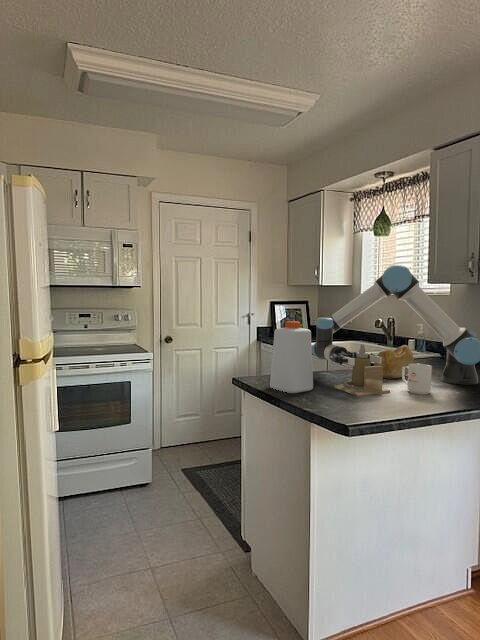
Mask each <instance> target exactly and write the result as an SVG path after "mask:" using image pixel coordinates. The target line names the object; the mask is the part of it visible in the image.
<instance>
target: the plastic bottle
mask: <svg viewBox="0 0 480 640" xmlns="http://www.w3.org/2000/svg"><path fill="white" fill-rule="evenodd" d="M284 324H285V326H284V327H278V328H275V329H274V333H273V346H272V355H271V366H270V367H271V369H270V378H269V386H270V388H271V389H272V388H273V389H272V390H275V389H276V390H275V391H278V390H279V391H278V392H282V391H283V392H282V393H285V392H287V393H286V394H299V393H305V392H309V391H312V390H313V388H314V373H313V371H314V370H313V353H312V347H313V345H312V331H311V330H310V329H309V328H303V327H301V322H300V321H296V320H295V321H294V320H292V321H291V320H288V321H287V320H286V321H285V323H284Z"/></svg>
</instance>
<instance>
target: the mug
mask: <svg viewBox="0 0 480 640" xmlns="http://www.w3.org/2000/svg"><path fill="white" fill-rule="evenodd" d="M405 368H408V374H407V380H406V377H405V376H406V375H405ZM432 371H433V366H432V365H430V364H424V363H414V364H409V365H408V367H402V377H401V379H402V381H403V383H405V385H406V386H407V390H408V392H409V393H411V394H414V395H428V394H429V393H431V391H432V375H433V372H432Z"/></svg>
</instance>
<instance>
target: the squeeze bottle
mask: <svg viewBox="0 0 480 640" xmlns="http://www.w3.org/2000/svg"><path fill="white" fill-rule="evenodd" d="M368 354H369V353H368V352H366V348H365V344H364V343H362V344H360V347H359V351H358V352H357V353H356V357H357V358H355V365H354V366H352V371H351V381H352V382H353V385H354V386H356V387H364V369H365V367H370V366H371V363H372V362H370V359H369V358H368Z"/></svg>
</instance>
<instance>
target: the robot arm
mask: <svg viewBox="0 0 480 640" xmlns="http://www.w3.org/2000/svg"><path fill="white" fill-rule="evenodd" d="M391 295H393V296H394V297H395V298H396V299H397V300H398V301H404V302H405V303H406V304H407V305H408V307H410V309H412V311H414V312H415V313H416V315H418V316H419V317H420V318H421V319H422V320H423V322H424V323H425V324H427V326H428V327H429V328H430V329H431V330H433V332H434V333H435V334H436V335H437V336H438V337H439V338H440V339H441V340H442V341H443V342H442V346H443V347H444V348H445V349H446V363H445V366H444V368H443V369H444V370H443V372H442V373H441V381H443V382H445V383H449V384H455V385H464V386H465V385H468V386H472V385H473V386H474V385H478V384H479V377H478V373H477V370H476V367H475V365H476V364H477V363H479V362H480V340H479V339H478V338H477V334H476V332H474V331H469V330H468V329H467V328H466V327H460V326H459V325H458V324H457V323H456V322H455V321H454V320H453V319H452V318H451V317H450V316H449V315H448V314H446V312H445V311H444V310H443V309H442V308H441V307H440V306H439V305H438V304H437V303H436V302H435V301H434V300H433V299H432V298H431V297H430V296H429V295H428V294H427V293H426V292H425V291H424V290H423V288H421V287H420V281H419V280H418V279H417V278H416V277H415V275H413V274H412V273H411V271H410V269H409V268H408V267H406V265H403V264H393V265H390V266H389V267H387V268H386V269H385V270H384V271H383V273H382V275H381V276H380V277H379V278H377V279H376V280H375V281H374V284H372V285H371V286H370V287H369V288H367V289H366V290H364V291H363V292H361V293H360V294H359V295H358V296H356V297H355V298H353V299H352V300H351V301H349V302H348V303H347V304H345V305H344V306H342V307H341V308H339V310H337V311H336V312H334V313H333V314H332V315H330V316H329V317H318V318H317V319H316V339H315V343H314V344H313V345H312V356H314V357H316V358H318V359H320V360H325V361H330V362H331V363H335V364H336V363H337V364H338V365H340V366H342V365H343V364H345V365H349V366H352V367H353V366H354V365H355V358H357V357H356V353H358V352H356V351H354V352H351V351H348V350H347V348H346V347H344V346H340V345H336V344H333V341H334V340H333V338H334V337H333V334H334V333H336V332H337V331H338V330H340V329H341V328H343V327H344V326H346V325H347V324H348V323H350V322H351V321H352V320H354V319H356V318H357V317H359V315H361V314H362V313H364V312H365V311H366V310H368V309H369V308H372V306H374V305H375V304H376V303H378V302H379V301H380V300H382V299H383V298H388V297H390V296H391ZM368 358H369V359H370V363H373V364H374V363H378V364H381V360H382V357H378V355H375V354H373V353H368Z"/></svg>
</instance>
